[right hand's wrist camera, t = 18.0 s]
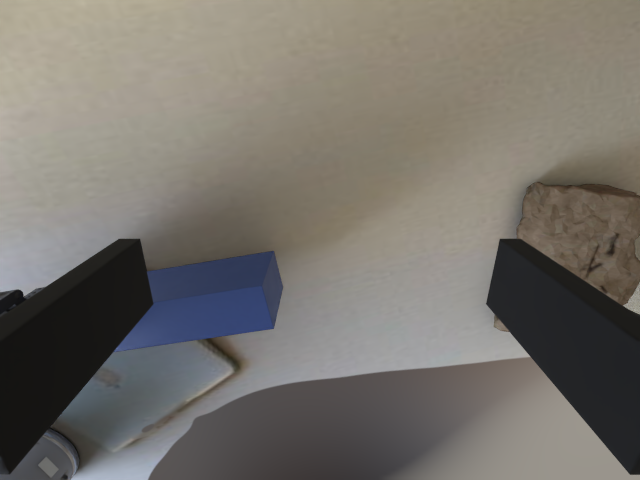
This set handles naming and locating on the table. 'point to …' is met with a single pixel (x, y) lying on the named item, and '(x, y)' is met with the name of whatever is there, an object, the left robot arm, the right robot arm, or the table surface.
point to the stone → (585, 234)
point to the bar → (209, 301)
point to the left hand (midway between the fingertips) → (81, 302)
